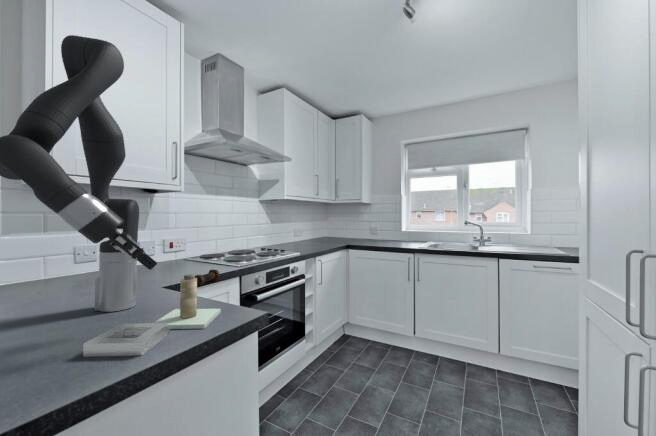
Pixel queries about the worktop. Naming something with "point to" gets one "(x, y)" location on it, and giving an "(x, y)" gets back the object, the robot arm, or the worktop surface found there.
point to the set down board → (192, 323)
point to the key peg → (188, 297)
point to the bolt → (207, 277)
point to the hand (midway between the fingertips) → (150, 264)
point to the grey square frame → (126, 340)
